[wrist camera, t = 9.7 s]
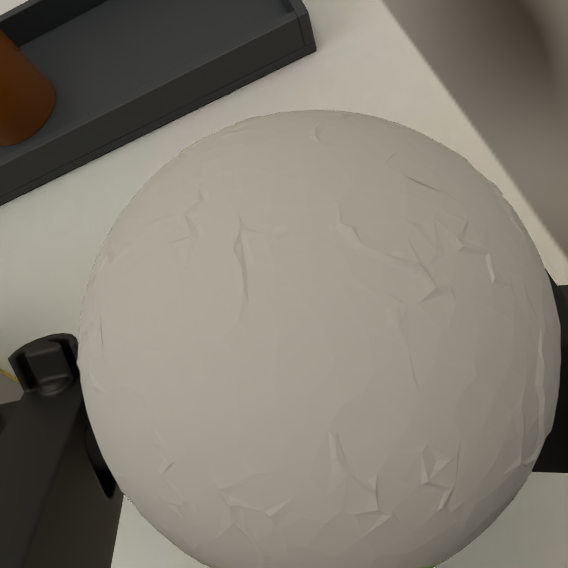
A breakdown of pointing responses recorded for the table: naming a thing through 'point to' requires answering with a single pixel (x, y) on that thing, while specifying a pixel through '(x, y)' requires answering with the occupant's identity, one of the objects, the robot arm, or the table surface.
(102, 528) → the robot arm
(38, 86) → the bottle mid
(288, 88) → the table surface
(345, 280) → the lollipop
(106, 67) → the tray
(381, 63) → the table surface
